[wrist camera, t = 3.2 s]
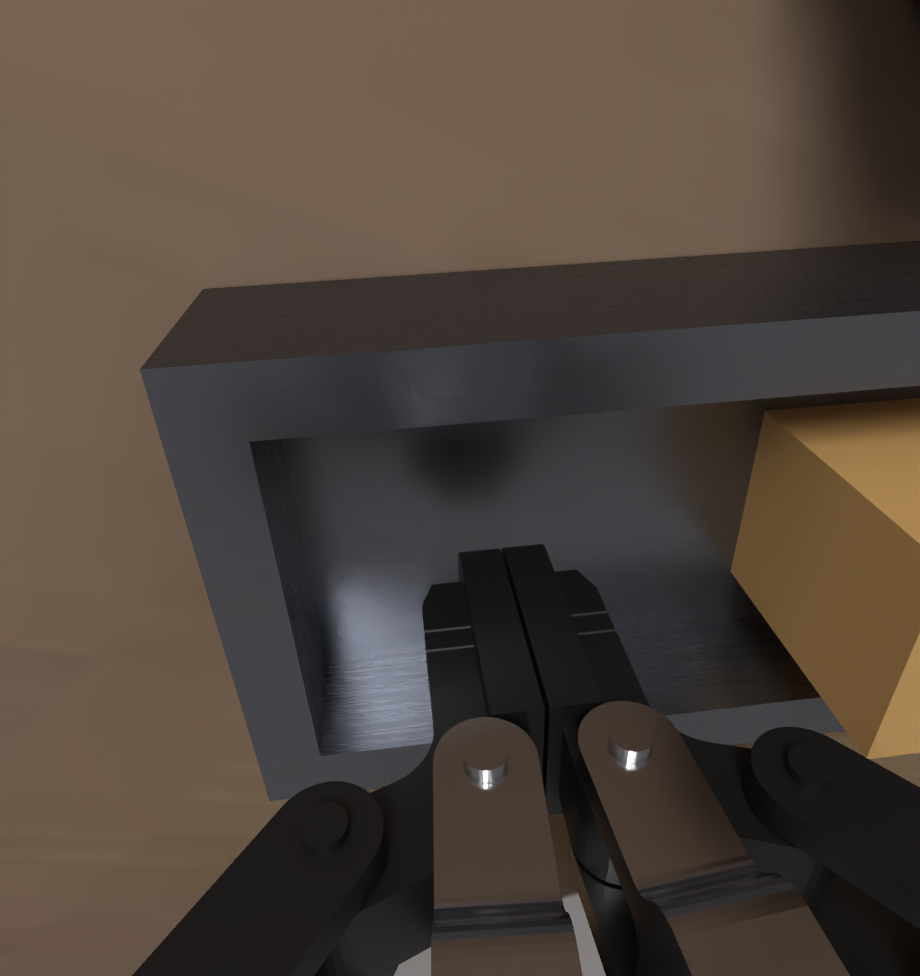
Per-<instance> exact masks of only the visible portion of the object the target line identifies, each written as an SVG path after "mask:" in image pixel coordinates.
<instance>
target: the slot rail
mask: <svg viewBox="0 0 920 976" xmlns="http://www.w3.org/2000/svg"><path fill="white" fill-rule="evenodd" d="M140 372H141V375H142V378H143V382H144V385H145V388H146V392H147V395H148V398H149V402H150V405H151V408H152V411H153V415H154V418H155V421H156V425H157V428H158V431H159V435H160V438H161V441H162V445H163V448H164V451H165V455H166V458H167V461H168V465H169V468H170V471H171V475H172V478H173V481H174V485H175V488H176V491H177V494H178V498H179V501H180V504H181V508H182V511H183V514H184V518H185V521H186V524H187V528H188V531H189V534H190V538H191V541H192V544H193V548H194V551H195V554H196V558H197V561H198V564H199V567H200V571H201V574H202V577H203V581H204V584H205V587H206V591H207V594H208V597H209V601H210V604H211V607H212V611H213V614H214V617H215V621H216V624H217V627H218V631H219V634H220V637H221V641H222V644H223V647H224V650H225V654H226V657H227V660H228V664H229V667H230V670H231V674H232V677H233V680H234V684H235V687H236V690H237V694H238V697H239V700H240V704H241V707H242V710H243V714H244V717H245V720H246V724H247V727H248V730H249V733H250V737H251V740H252V743H253V747H254V750H255V753H256V757H257V760H258V763H259V767H260V770H261V773H262V777H263V780H264V783H265V787H266V790H267V793H268V797H269V800H270V801H273V800H282V799H290V798H292V797H293V796H295V795H296V794H297V793H299V792H300V791H302V790H304V789H306V788H308V787H310V786H313V785H315V784H319V783H323V782H329V781H342V782H348V783H352V784H355V785H357V786H360V787H362V788H363V789H372V788H380V787H385V786H387V785H389V784H392V783H394V782H396V781H398V780H400V779H401V778H403V777H405V776H406V775H408V774H409V773H410V772H412V771H413V770H414V769H415V768H416V767H417V766H418V765H419V764H420V763H421V762H422V760H423V759H424V758H425V757H426V755H427V753H428V751H429V749H430V747H431V744H432V741H433V735H434V732H433V722H432V712H431V702H430V692H429V682H428V672H427V661H426V649H425V638H424V627H423V615H422V604H423V602H424V600H425V598H426V596H427V594H428V592H429V589H430V587H431V585H432V584H442V583H452V582H459V570H458V552H468V551H478V550H488V549H498V548H499V549H500V551H501V549H502V548H506V547H516V546H526V545H536V544H543V545H544V546H545V548H546V550H547V553H548V555H549V558H550V561H551V563H552V566H553V569H554V571H555V572H557V571H566V570H578V571H579V572H580V573H581V574H582V575H583V576H584V577H586V578H587V579H588V580H589V581H590V582H591V583H592V584H593V585H595V586H596V587H597V589H598V591H599V594H600V596H601V598H602V600H603V603H604V605H605V607H606V609H607V614H609V616H610V618H611V621H612V623H613V625H614V627H615V632H617V634H618V636H619V638H620V641H621V643H622V645H623V647H624V650H625V652H626V654H627V656H628V659H629V661H630V663H631V665H632V667H633V670H634V672H635V674H636V676H637V679H638V681H639V683H640V685H641V688H642V690H643V692H644V694H645V697H646V699H647V701H648V703H649V704H650V706H651V708H653V709H655V710H657V711H658V712H660V713H661V714H663V715H664V716H665V717H666V718H668V719H669V720H670V721H671V722H672V723H673V724H674V726H675V727H676V728H677V730H678V731H679V732H681V733H683V734H685V735H687V736H689V737H692V738H695V739H698V740H702V741H707V742H712V743H718V744H724V745H734V744H742V743H750V742H755V741H756V740H757V739H758V737H759V736H760V735H762V734H763V733H765V732H766V731H769V730H771V729H774V728H779V727H800V728H805V729H809V730H813V731H815V732H818V733H821V734H824V733H832V732H841V731H845V730H844V728H843V727H842V725H841V724H840V723H839V721H838V720H837V718H836V717H835V716H834V714H833V713H832V712H831V710H830V709H829V707H828V706H827V705H826V703H825V702H824V700H823V699H822V698H821V696H820V695H819V693H818V692H817V691H816V689H815V688H814V687H813V685H812V684H811V682H810V681H809V680H808V678H807V677H806V675H805V674H804V673H803V671H802V670H801V668H800V667H799V666H798V664H797V663H796V662H795V660H794V659H793V657H792V656H791V655H790V653H789V652H788V650H787V649H786V648H785V646H784V645H783V643H782V642H781V641H780V639H779V638H778V637H777V635H776V634H775V632H774V631H773V630H772V628H771V627H770V625H769V624H768V623H767V621H766V620H765V619H764V617H763V616H762V614H761V613H760V612H759V610H758V609H757V607H756V606H755V605H754V603H753V602H752V600H751V599H750V598H749V596H748V595H747V594H746V592H745V591H744V589H743V588H742V587H741V585H740V584H739V582H738V581H737V580H736V578H735V577H734V575H733V574H732V573H731V567H732V562H733V558H734V553H735V548H736V544H737V539H738V534H739V530H740V525H741V520H742V516H743V511H744V506H745V502H746V497H747V492H748V488H749V483H750V478H751V474H752V469H753V464H754V460H755V455H756V450H757V445H758V441H759V436H760V431H761V427H762V422H763V417H764V413H765V411H770V410H782V409H794V408H806V407H818V406H829V405H841V404H853V403H865V402H876V401H888V400H900V399H912V398H920V241H913V242H898V243H883V244H868V245H853V246H838V247H823V248H809V249H794V250H779V251H764V252H749V253H734V254H719V255H704V256H690V257H675V258H660V259H645V260H630V261H615V262H600V263H585V264H571V265H556V266H541V267H526V268H511V269H496V270H481V271H466V272H451V273H437V274H422V275H407V276H392V277H377V278H362V279H347V280H332V281H318V282H303V283H288V284H273V285H258V286H243V287H228V288H213V289H203V290H202V291H201V293H200V294H199V295H198V296H197V298H196V299H195V300H194V301H193V303H192V304H191V305H190V307H189V308H188V309H187V310H186V312H185V313H184V314H183V315H182V317H181V318H180V319H179V320H178V322H177V323H176V324H175V326H174V327H173V328H172V329H171V331H170V332H169V333H168V334H167V336H166V337H165V338H164V339H163V341H162V342H161V343H160V345H159V346H158V347H157V348H156V350H155V351H154V352H153V353H152V355H151V356H150V357H149V358H148V360H147V361H146V362H145V364H144V365H143V366H142V367H141V369H140Z"/></svg>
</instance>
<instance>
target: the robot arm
mask: <svg viewBox="0 0 920 976" xmlns="http://www.w3.org/2000/svg"><path fill="white" fill-rule="evenodd" d="M458 570H459V582H452V583H442V584H432V585H431V587H430V589H429V592H428V594H427V596H426V598H425V600H424V602H423V604H422V615H423V627H424V638H425V649H426V661H427V672H428V682H429V692H430V702H431V712H432V722H433V732H434V735H433V741H432V744H431V747H430V749H429V751H428V753H427V755H426V757H425V758H424V759H423V760H422V762H421V763H420V764H419V765H418V766H417V767H416V768H415V769H414V770H413V771H412V772H410V773H409V774H408V775H406V776H405V777H403V778H401V779H400V780H398V781H396V782H394V783H392V784H389V785H387V786H385V787H383V788H381V789H378V790H376V791H374V792H372V793H369V792H367V791H366V790H365V789H363V788H362V787H360V786H357V785H355V784H352V783H348V782H342V781H329V782H323V783H319V784H315V785H313V786H310V787H308V788H306V789H304V790H302V791H300V792H299V793H297V794H296V795H295V796H293V797H292V798H291V799H289V800H288V801H287V802H286V803H285V804H284V805H283V806H282V808H281V809H280V810H279V811H278V812H277V813H276V814H275V815H274V817H273V818H272V819H271V820H270V821H269V822H268V823H267V824H266V826H265V827H264V828H263V829H262V830H261V831H260V832H259V833H258V835H257V836H256V837H255V838H254V839H253V840H252V841H251V842H250V844H249V845H248V846H247V847H246V848H245V849H244V850H243V851H242V853H241V854H240V855H239V856H238V857H237V858H236V859H235V860H234V862H233V863H232V864H231V865H230V866H229V867H228V868H227V869H226V871H225V872H224V873H223V874H222V875H221V876H220V877H219V878H218V880H217V881H216V882H215V883H214V884H213V885H212V886H211V887H210V889H209V890H208V891H207V892H206V893H205V894H204V895H203V896H202V898H201V899H200V900H199V901H198V902H197V903H196V904H195V905H194V907H193V908H192V909H191V910H190V911H189V912H188V913H187V914H186V916H185V917H184V918H183V919H182V920H181V921H180V922H179V923H178V925H177V926H176V927H175V928H174V929H173V930H172V931H171V932H170V934H169V935H168V936H167V937H166V938H165V939H164V940H163V941H162V943H161V944H160V945H159V946H158V947H157V948H156V949H155V950H154V952H153V953H152V954H151V955H150V956H149V957H148V958H147V959H146V961H145V962H144V963H143V964H142V965H141V966H140V967H139V968H138V970H137V971H136V972H135V973H134V974H133V975H132V976H394V974H395V972H396V970H397V967H398V965H399V964H400V963H402V962H404V961H406V960H408V959H410V958H411V957H413V956H415V955H417V954H419V953H421V952H422V951H424V950H426V949H428V948H429V947H431V976H582V972H581V965H580V960H579V954H578V949H577V943H576V938H575V933H574V929H573V924H572V921H571V918H570V915H569V914H568V912H566V911H565V909H564V906H563V902H562V897H561V891H560V885H559V879H558V873H557V867H556V860H555V854H554V848H553V842H552V836H551V829H550V823H549V817H548V814H556V813H563V814H564V818H565V822H566V825H567V829H568V833H569V837H570V839H569V852H568V857H569V865H570V869H571V872H572V875H573V878H574V881H575V884H576V887H577V890H578V893H579V896H580V899H581V902H582V905H583V908H584V911H585V914H586V917H587V920H588V923H589V926H590V928H591V932H592V935H593V938H594V941H595V944H596V947H597V950H598V953H599V956H600V959H601V962H602V965H603V968H604V971H605V974H606V976H920V787H918V786H916V785H914V784H912V783H911V782H909V781H907V780H905V779H903V778H902V777H900V776H898V775H896V774H894V773H893V772H891V771H889V770H887V769H885V768H884V767H882V766H880V765H878V764H876V763H875V762H873V761H871V760H869V759H867V758H866V757H864V756H862V755H860V754H858V753H857V752H855V751H853V750H851V749H849V748H848V747H846V746H844V745H842V744H840V743H838V742H837V741H835V740H833V739H831V738H829V737H827V736H825V735H823V734H821V733H818V732H815V731H813V730H809V729H805V728H800V727H779V728H774V729H771V730H769V731H766V732H765V733H763V734H762V735H760V736H759V737H758V739H757V740H756V741H755V743H754V745H753V747H752V749H749V748H743V747H737V746H730V745H724V744H718V743H712V742H707V741H702V740H698V739H695V738H692V737H689V736H687V735H685V734H683V733H681V732H679V731H678V730H677V728H676V727H675V726H674V724H673V723H672V722H671V721H670V720H669V719H668V718H666V717H665V716H664V715H663V714H661V713H660V712H658V711H657V710H655V709H653V708H651V706H650V704H649V703H648V701H647V699H646V697H645V694H644V692H643V690H642V688H641V685H640V683H639V681H638V679H637V676H636V674H635V672H634V670H633V667H632V665H631V663H630V661H629V659H628V656H627V654H626V652H625V650H624V647H623V645H622V643H621V641H620V638H619V636H618V634H617V632H615V627H614V625H613V623H612V621H611V618H610V616H609V614H607V609H606V607H605V605H604V603H603V600H602V598H601V596H600V594H599V591H598V589H597V587H596V586H595V585H593V584H592V583H591V582H590V581H589V580H588V579H587V578H586V577H584V576H583V575H582V574H581V573H580V572H579V571H578V570H566V571H557V572H555V571H554V569H553V566H552V563H551V561H550V558H549V555H548V553H547V550H546V548H545V546H544V545H543V544H536V545H526V546H516V547H506V548H502V549H501V551H500V549H499V548H498V549H488V550H478V551H468V552H458Z"/></svg>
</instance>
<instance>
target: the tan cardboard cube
mask: <svg viewBox="0 0 920 976" xmlns="http://www.w3.org/2000/svg"><path fill="white" fill-rule="evenodd" d="M731 573H732V574H733V575H734V577H735V578H736V580H737V581H738V582H739V584H740V585H741V587H742V588H743V589H744V591H745V592H746V594H747V595H748V596H749V598H750V599H751V600H752V602H753V603H754V605H755V606H756V607H757V609H758V610H759V612H760V613H761V614H762V616H763V617H764V619H765V620H766V621H767V623H768V624H769V625H770V627H771V628H772V630H773V631H774V632H775V634H776V635H777V637H778V638H779V639H780V641H781V642H782V643H783V645H784V646H785V648H786V649H787V650H788V652H789V653H790V655H791V656H792V657H793V659H794V660H795V662H796V663H797V664H798V666H799V667H800V668H801V670H802V671H803V673H804V674H805V675H806V677H807V678H808V680H809V681H810V682H811V684H812V685H813V687H814V688H815V689H816V691H817V692H818V693H819V695H820V696H821V698H822V699H823V700H824V702H825V703H826V705H827V706H828V707H829V709H830V710H831V712H832V713H833V714H834V716H835V717H836V718H837V720H838V721H839V723H840V724H841V725H842V727H843V728H844V730H845V731H846V732H847V734H848V735H849V737H850V738H851V739H852V741H853V742H854V743H855V745H856V746H857V748H858V749H859V750H860V752H861V753H862V755H863V756H864V757H866V758H867V759H874V758H882V757H890V756H898V755H906V754H914V753H920V398H912V399H900V400H888V401H876V402H865V403H853V404H841V405H829V406H818V407H806V408H794V409H782V410H770V411H765V413H764V417H763V422H762V427H761V431H760V436H759V441H758V445H757V450H756V455H755V460H754V464H753V469H752V474H751V478H750V483H749V488H748V492H747V497H746V502H745V506H744V511H743V516H742V520H741V525H740V530H739V534H738V539H737V544H736V548H735V553H734V558H733V562H732V567H731Z"/></svg>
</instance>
